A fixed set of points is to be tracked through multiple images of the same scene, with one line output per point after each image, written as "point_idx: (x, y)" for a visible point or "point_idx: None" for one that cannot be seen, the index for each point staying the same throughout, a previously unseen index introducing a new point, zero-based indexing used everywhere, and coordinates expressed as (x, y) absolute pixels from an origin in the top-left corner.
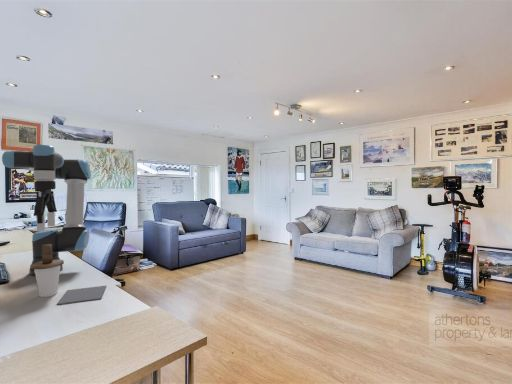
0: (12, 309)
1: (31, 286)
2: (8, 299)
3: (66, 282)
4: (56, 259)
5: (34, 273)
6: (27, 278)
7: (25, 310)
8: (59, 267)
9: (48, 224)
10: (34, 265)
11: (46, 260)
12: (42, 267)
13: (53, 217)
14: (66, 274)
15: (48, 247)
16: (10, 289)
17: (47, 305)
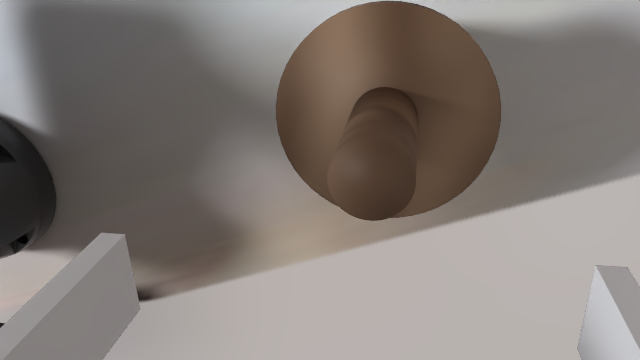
0: (563, 166)
1: (230, 181)
2: (399, 223)
3: (209, 16)
4: (282, 81)
5: (46, 220)
6: (92, 233)
7: (617, 104)
8: None
9: (123, 320)
10: (427, 188)
11: (417, 126)
12: (499, 122)
13: (38, 338)
14: (51, 58)
15: (408, 152)
16: (248, 255)
17: (600, 13)
